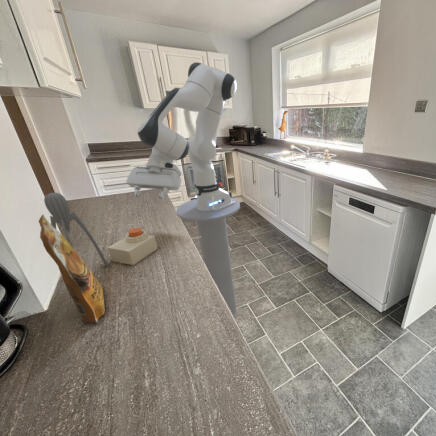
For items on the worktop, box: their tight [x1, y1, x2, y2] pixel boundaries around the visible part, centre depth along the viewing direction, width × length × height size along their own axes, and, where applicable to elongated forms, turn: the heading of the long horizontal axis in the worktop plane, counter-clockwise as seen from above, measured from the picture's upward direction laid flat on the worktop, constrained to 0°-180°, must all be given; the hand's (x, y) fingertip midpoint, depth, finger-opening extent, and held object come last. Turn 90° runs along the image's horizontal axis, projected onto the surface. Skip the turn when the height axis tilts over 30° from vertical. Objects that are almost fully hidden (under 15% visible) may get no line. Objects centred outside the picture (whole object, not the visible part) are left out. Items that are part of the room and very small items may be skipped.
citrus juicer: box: [43, 192, 108, 268], centre depth 75 cm, size 11×10×30 cm
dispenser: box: [106, 229, 158, 266], centre depth 93 cm, size 12×10×8 cm
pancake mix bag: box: [38, 214, 106, 324], centre depth 64 cm, size 7×19×28 cm, turn 38°
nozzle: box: [127, 227, 143, 237], centre depth 93 cm, size 4×4×2 cm
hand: (149, 197), depth 95 cm, fingers open, 8 cm apart
